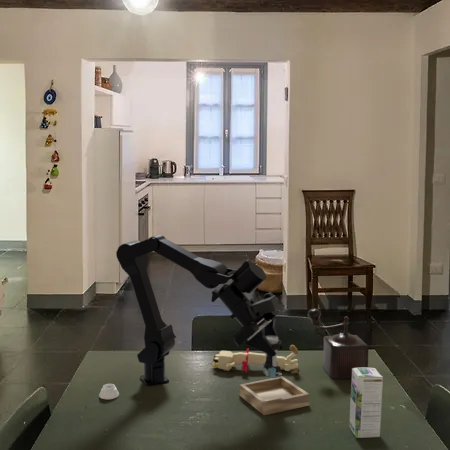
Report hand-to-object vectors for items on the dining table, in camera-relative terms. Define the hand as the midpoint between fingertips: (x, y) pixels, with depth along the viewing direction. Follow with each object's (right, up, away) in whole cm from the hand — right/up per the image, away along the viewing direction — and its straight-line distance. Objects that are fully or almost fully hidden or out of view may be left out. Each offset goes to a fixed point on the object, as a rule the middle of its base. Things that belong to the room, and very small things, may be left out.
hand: (278, 351), depth 156 cm
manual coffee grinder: (+18, -11, +22) cm, 31 cm away
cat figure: (-5, -10, +24) cm, 27 cm away
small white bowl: (-44, -13, +5) cm, 46 cm away
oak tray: (-1, -13, +3) cm, 13 cm away
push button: (-1, -7, +1) cm, 7 cm away
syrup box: (+19, -16, -14) cm, 28 cm away
